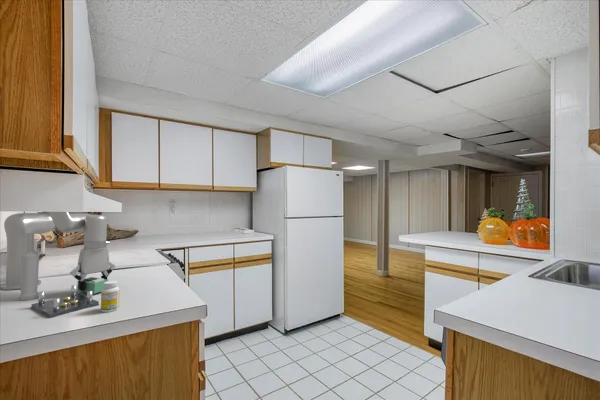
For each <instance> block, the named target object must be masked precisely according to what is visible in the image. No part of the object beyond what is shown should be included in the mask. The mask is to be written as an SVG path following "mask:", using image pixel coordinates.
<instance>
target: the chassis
mask: <svg viewBox="0 0 600 400" xmlns="http://www.w3.org/2000/svg"><path fill="white" fill-rule="evenodd" d="M77 285H78V284H73V285H71V286H70V289H71V290H70V295H67V296H62V297H55V298H53V299H49V300H45V299H46V297H45V296H46V291H38V300H37V301H38V302H35V303H31V307H30V308H32V309H33V310H34V311H37V312H38V313H41V314H42V315H44V316H46V317H48V318H51V319H52V318H55V317H58V316H62V315H66V314H70V313H74V312H76V311H81V310H84V309H90V308H91V307H96V306H99V304H100V303H99V301H98V300H95V299H93V297H94V296H93V295H94V294H93V291H87V292H86V296H85V295H83V294H80V293H77V292H78V291H77Z"/></svg>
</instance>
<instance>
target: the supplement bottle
mask: <svg viewBox="0 0 600 400" xmlns="http://www.w3.org/2000/svg"><path fill="white" fill-rule="evenodd" d="M118 283H119V282H118V281H117V280H108V281H107V282H104V287H105V288H103V289H102V291H101V292H100V294H101V295H100V311H101V312H103V313H111V312H115V311H117V310H119V308H120V287H119V286H118V285H119V284H118Z"/></svg>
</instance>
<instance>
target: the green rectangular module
mask: <svg viewBox="0 0 600 400" xmlns="http://www.w3.org/2000/svg"><path fill="white" fill-rule="evenodd" d="M84 281H85V291H81V290H80V289H79V288H78V285H79V280H77V284H76V285H77V292H82V293H87V291H93V295H94V294H97V293H101V291H102V289H103V288H105V287H104V282H107V281H109V279H107V280H106V279H103V278H101V277H100V278H98V277H94V276H93V277H92V276H91V277H87V278H86V277H85V279H84Z"/></svg>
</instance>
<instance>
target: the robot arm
mask: <svg viewBox="0 0 600 400" xmlns="http://www.w3.org/2000/svg"><path fill="white" fill-rule="evenodd" d="M85 173H86V170H85V171H84V172H83V174H84V175H85ZM3 227H4V232H5V237H6V265H5V266H6V268H5V269H6V272H5V276H6V277H5V283H3V284H0V289H1V290H5V291H6V290H7V291H8V290H9V291H10V290H12V291H13V290H21V255H23V254H24V253H25V251H27V233H34V235H38V234H39V235H40V234H46V233H47V234H48V233H50V232H52V231H53V230H54V229H55V228H56V229H57V230H58V231H59V232H61V233H64V234H71V233H83V232H84V234H83V248H81V249H80V251H79V254H78V259H77V265H76V267H74V268H73V269H72V270H71V271H70V272H69V274H70V275H71V276H72V277H73V278H75V279H76V280H77V281H79V285H78V284H77V285H78V288H79V289H80V290H81V291H80V292H82V291H85V281H84V279H86V277H87V275H92V274H96V273H97V274H98V273H100V274H101V275H100V278H103V279H106V280H108V277H109V275H110V274H111V273H112V272H113V271H114V269H115V268H116V265H115V264H114V263H112V262H111V261H110V254H109V248H108V247H107V245H109V244H110V240H107V235H108V234H107V233H108V228H107V227H108V217H107V216H106V215H102V214H91V213H69V211H68V212H38V211H37V212H22V213H20V212H19V213H14V214H11V215H9V216H7V217H6V218H5V220H4V223H3ZM34 250H35V252H36V253H38V243H37V241H36V239H35V238H34ZM78 273H79V274H78ZM41 283H42V281H41V279H38V286H39V285H40V284H41Z"/></svg>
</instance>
